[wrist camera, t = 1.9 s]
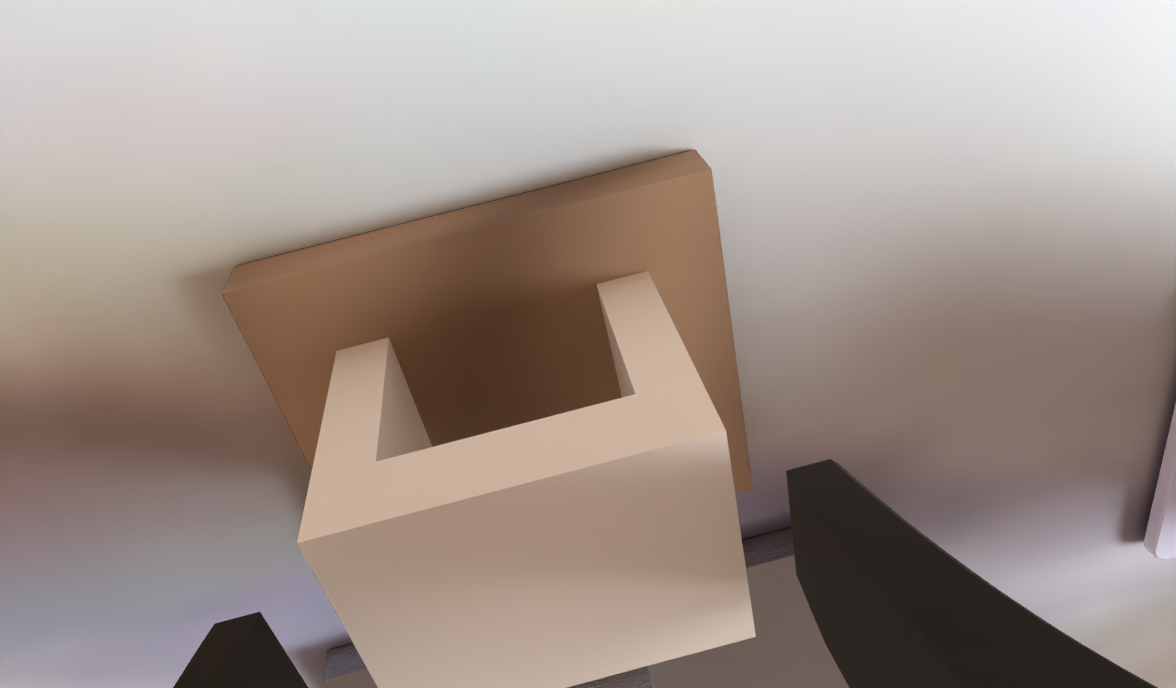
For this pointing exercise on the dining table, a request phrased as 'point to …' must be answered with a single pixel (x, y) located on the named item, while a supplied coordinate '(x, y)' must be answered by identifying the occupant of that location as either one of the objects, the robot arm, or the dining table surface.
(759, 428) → the dining table surface
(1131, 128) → the dining table surface
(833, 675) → the rack
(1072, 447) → the dining table surface
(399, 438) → the u clip
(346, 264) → the brown square backing plate
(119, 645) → the dining table surface
